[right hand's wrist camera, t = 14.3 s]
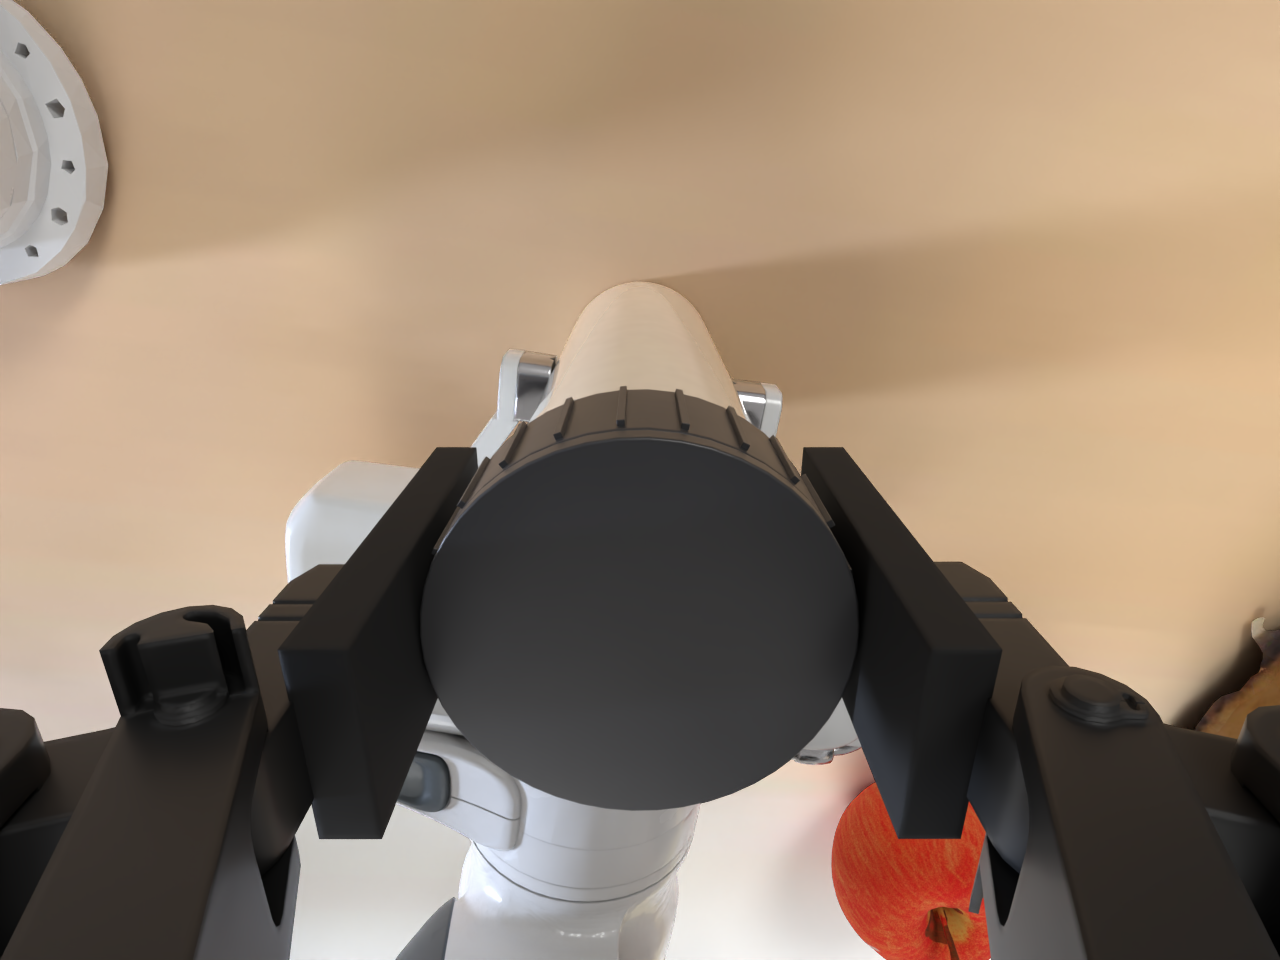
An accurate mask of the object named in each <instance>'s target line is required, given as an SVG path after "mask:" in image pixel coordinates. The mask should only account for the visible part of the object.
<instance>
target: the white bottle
mask: <svg viewBox="0 0 1280 960" xmlns="http://www.w3.org/2000/svg"><path fill="white" fill-rule="evenodd" d="M620 386H627V390H636V389H650V390H660V391H670V392H675V391H676V389H681V390H683V394H685V395H689V396H693V397H697V398H700V399H703V400H706V401H708V402H711V403H714V404H716V405H719V406H722V407H724V408H726V409H727V407H728V406H731V407H733V408H734V409H735V411H736V413H737V415H739V416H740V417H742V418H744V419H746V420H747V421H748V422H750V423H751V424H752V422H751V419H750V417H749V415H748V413H747V411H746V409H745V407H744V405H743V403H742V401H741V399H740V397H739V394H738V392H737V390H736V388H735V386H734V384H733V382H732V380H731V378H730V376H729V374H728V371H727V369H726V367H725V365H724V363H723V361H722V359H721V357H720V355H719V353H718V351H717V349H716V346H715V344H714V342H713V340H712V338H711V336H710V334H709V332H708V330H707V328H706V326H705V323H704V321H703V320H702V318H701V316H700V314H699V313H698V311H697V310H696V309H695V307H694V306H693V305H692V304H691V303H690V302H689V301H688V300H687V299H686V298H685V297H683V296H682V295H681V294H679V293H678V292H676V291H674V290H672V289H671V288H668V287H666V286H663V285H660V284H656V283H651V282H630V283H624V284H620V285H617V286H614V287H612V288H610V289H608V290H606V291H604V292H603V293H601V294H599V295H598V296H597V297H596V298H594V299H593V300H592V301H591V302H590V303H589V304H588V305H587V306H586V307H585V309H584V310H583V312H582V313H581V315H580V316H579V318H578V320H577V322H576V324H575V326H574V328H573V330H572V332H571V334H570V336H569V338H568V340H567V343H566V345H565V347H564V349H563V351H562V353H561V355H560V357H559V359H558V361H557V363H556V365H555V367H554V369H553V372H552V374H551V376H550V378H549V380H548V382H547V384H546V386H545V388H544V390H543V392H542V394H541V396H540V398H539V401H538V403H537V405H536V407H535V409H534V411H533V413H532V415H531V417H530V419H529V421H528V423H529V422H531V421H533V420H534V419H536V418H538V417H539V416H541V415H542V414H544V413H546V412H547V411H549V410H552V409H554V408H556V407H559V406H561V405H563V404H564V403H565V400H566V399H567V398H570V397H572V398H573V400H576V399H580V398H583V397H587V396H590V395H594V394H598V393H604V392H611V391H617V390H620ZM528 423H527V424H528Z"/></svg>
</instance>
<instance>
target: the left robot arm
mask: <svg viewBox="0 0 1280 960" xmlns="http://www.w3.org/2000/svg"><path fill="white" fill-rule="evenodd" d="M556 363H557V355H550V354H543V353H537V352H530V351H525V350H517V349H508V351H507V352H506V353H505V354H504V356H503V359H502V363H501V369H500V377H499V392H498V407H497V411H496V412H495V414H494V415H493V416H492V418H491V419H490V420H489V422H488V423H487V425H486V426H485V427H484V429H483V430H482V432H481V433H480V434H479V436H478V437H477V439H476V440H475V441H474V443H473V444H472V446H471V447H476V448H477V459H478V468H479V466H480V464H481V463H482V461H483V460H484V458H485V457H488V458H489V459H491V457H492V456H493V455H494V454H495V453H496V452H497V451H498V450H499V448H500V447H501V445H502V444H503V443H504V441H505V440H506V439H507V437H508V436H509V434H510V433H511V432H512V430H513V429H514V427H515V426H516V425H517V423H518V422H519V421H524V422H528V421H529V419H530V417H531V415H532V413H533V411H534V409H535V407H536V405H537V403H538V401H539V398H540V396H541V394H542V392H543V390H544V388H545V386H546V384H547V382H548V380H549V378H550V376H551V374H552V372H553V369H554V367H555V365H556ZM731 380H732V382H733V384H734V386H735V388H736V390H737V392H738V394H739V397H740V399H741V401H742V403H743V405H744V407H745V409H746V411H747V413H748V415H749V417H750V419H751V422H752V424H753V425H754V426H755V427H757V428H758V429H759V430H761V431H762V432H764V433H765V434H766V435H767V436H768V437H769V438H770V437H771V436H772V435H774V436H775V437H776V433H777V429H778V424H779V419H780V415H781V410H782V393H781V391H780V390H779V388H778V387H777V386H776V384H768V383H761V382H754V381H745V380H737V379H731ZM419 469H420V468H412V467H405V466H397V465H389V464H381V463H373V462H366V461H356V460H352V461H346V462H344V463H342V464H340V465H338V466H337V467H336V468H334V469H333V470H332V471H331V472H329V473H328V474H327V475H326V476H324V477H323V478H322V479H320V480H319V481H318V482H317V483H316V484H315V485H313V486H312V487H311V488H310V489H309V490H308V491H307V493H306V494H305V495H304V496H303V497H302V498H301V499H300V500H299V501H298V503H297V504H296V505H295V507H294V508H293V510H292V511H291V513H290V515H289V518H288V521H287V524H286V532H285V551H286V566H287V577H288V583H289V582H290V581H291V580H293V579H295V578H296V577H298V576H300V575H301V574H303V573H305V572H306V571H308V570H310V569H312V568H313V567H315V566H317V565H318V564H345V563H346V562H347V561H348V559H349V558H350V557H351V556H352V554H353V553H354V552H355V551H356V549H357V548H358V547H359V546H360V544H361V543H362V542H363V540H364V539H365V538H366V537H367V535H368V534H369V533H370V532H371V530H372V529H373V528H374V526H375V525H376V524H377V523H378V521H379V520H380V519H381V518H382V516H383V515H384V514H385V513H386V511H387V510H388V509H389V507H390V506H391V505H392V504H393V502H394V501H395V500H396V499H397V497H398V496H399V495H400V494H401V492H402V491H403V490H404V488H405V487H406V486H407V485H408V483H409V482H410V481H411V480H412V478H413V477H414V476H415V474H416V473H417V472H418V471H419ZM860 748H862V747H861V744H860V742H859V739H858V737H857V734H856V732H855V729H854V727H853V724H852V722H851V719H850V717H849V714H848V711H847V709H846V706H845V704H844V701H843V699H842V698H841V700H840V702H839V703H838V705H837V707H836V708H835V710H834V712H833V713H832V715H831V717H830V718H829V720H828V721H827V722H826V724H825V725H824V726H823V727H822V729H821V730H820V731H819V732H818V734H817V735H816V736H815V737H814V739H813V740H812V741H811V742H809V743H808V744H807V745H806V746H805V747H804V748H803V749H802V750H801V751H800V752H799V753H798V754H797V755H796V756H795V757H793V758H792V759H791V760H794V761H795V762H798V763H802V764H810V765H823V764H828V763H831V762H832V760H833V757H834V756H836V755H844V754H848V753H851V752H854V751H856V750H858V749H860ZM396 804H397V805H399V806H402V807H405V808H407V809H410V810H412V811H415V812H417V813H419V814H421V815H424V816H426V817H428V818H431V819H433V820H435V821H437V822H439V823H441V824H443V825H445V826H447V827H449V828H451V829H453V830H455V831H457V832H458V833H460V834H462V835H464V836H466V837H467V838H469V839H470V840H471V846H470V848H469V850H468V853H467V855H466V858H465V861H464V864H463V868H462V874H461V879H460V886H459V895H458V899H455V898H454V897H453V898H452V899H450V900H449V901H448V902H446V903H445V904H444V905H443V906H441V907H440V908H439V909H438V910H437V911H436V912H435V913H434V914H433V915H432V916H431V917H430V918H429V920H428V921H427V922H426V923H425V924H424V925H423V927H422V928H421V929H420V930H419V931H418V932H417V934H416V935H415V936H414V937H413V938H412V940H411V941H410V942H409V943H408V944H407V946H406V947H405V948H404V949H403V950H402V952H401V953H400V954H399V955H398V957H397V958H396V960H665V957H666V953H667V949H668V946H669V942H670V938H671V934H672V930H673V926H674V921H675V917H676V911H677V903H678V879H677V871H678V870H679V868H680V867H681V865H682V863H683V861H684V860H685V858H686V855H687V853H688V851H689V848H690V845H691V842H692V839H693V835H694V830H695V826H696V822H697V817H698V813H699V808H700V804H696V805H691V806H687V807H682V808H673V809H665V810H651V811H627V810H615V809H604V808H599V807H594V806H588V805H583V804H579V803H575V802H572V801H568V800H565V799H561V798H558V797H555V796H553V795H550V794H548V793H545V792H543V791H540V790H538V789H535V788H533V787H531V786H529V785H527V784H525V783H524V782H522V781H520V780H518V779H516V778H514V777H513V776H511V775H509V774H508V773H506V772H505V771H504V770H502V769H501V768H499V767H498V766H496V765H495V764H493V763H492V762H491V761H489V760H488V759H487V758H486V757H485V756H484V755H483V754H481V753H480V752H479V751H478V750H477V749H476V748H475V747H474V746H472V745H471V743H470V742H469V741H468V740H467V739H466V738H465V737H464V735H463V734H462V733H461V732H460V731H459V730H458V729H457V728H456V726H455V725H454V723H453V722H452V720H451V719H450V717H449V716H448V714H447V713H446V711H445V710H444V708H443V707H442V705H441V703H440V701H439V699H437V701H436V704H435V706H434V709H433V711H432V714H431V716H430V719H429V722H428V724H427V727H426V729H425V732H424V734H423V737H422V739H421V742H420V744H419V747H418V749H417V752H416V754H415V757H414V759H413V762H412V764H411V767H410V769H409V772H408V774H407V777H406V779H405V782H404V784H403V787H402V789H401V792H400V794H399V797H398V799H397V802H396Z"/></svg>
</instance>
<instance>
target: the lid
mask: <svg viewBox="0 0 1280 960" xmlns="http://www.w3.org/2000/svg"><path fill="white" fill-rule="evenodd" d="M833 526H835V524H834V522H833V520H832V519H831V517H830V515H829V514H828V512H827V510H826V508H825V507H824V505H823V503H822V501H821V500H820V498H819V496H818V495H817V493H816V491H815V489H814V488H813V486H812V484H811V483H810V481H809V479H808V477H807V476H806V474H803V475H801V476H800V474H799V473H798V471H797V469H796V468H795V466H794V465H793V464H792V462H791V461H790V460H789V459H788V457H787V455H786V454H785V452H784V450H783V448H782V446H781V445H780V443H779V441H778V439H777V438H776V437H775V436H774V435H772V436H771V437H770V438H769V437H768V436H767V435H766V434H765V433H764V432H762V431H761V430H759V429H758V428H757V427H755V426H754V425H753V424H751V423H750V422H748V421H747V420H746V419H744V418H742V417H740V416H739V415H737V413H736V411H735V409H734V408H733V407H731V406H728V407H727V409H726V408H724V407H722V406H719V405H716V404H714V403H711V402H708V401H706V400H703V399H700V398H697V397H693V396H689V395H685V394H683V390H681V389H676V391H675V392H670V391H660V390H650V389H636V390H627V386H620V390H617V391H611V392H604V393H598V394H594V395H590V396H587V397H583V398H580V399H576V400H573V398H572V397H570V398H567V399H566V400H565V403H564V404H563V405H561V406H559V407H556V408H554V409H552V410H549V411H547V412H546V413H544V414H542V415H541V416H539V417H538V418H536V419H534V420H533V421H531V422H529V423H528V424H526V423H525V422H524V421H523V422H522V423H520V424H519V425H518V427H517V429H516V431H515V433H514V435H513V436H511V437H510V438H509V439H508V440H507V441H506V442H505V443H504V444H503V445H502V446H501V447H500V448H499V450H498V451H497V452H496V453H495V454H494V455H493V456H492V457H491V459H489V458H488V457H485V458H484V460H483V461H482V463H481V464H480V466H479V468H478V470H477V471H476V473H475V475H474V476H473V478H472V480H471V482H470V483H469V485H468V487H467V489H466V490H465V492H464V494H463V495H462V497H461V499H460V501H459V502H458V504H457V508H456V510H455V512H454V513H453V515H452V517H451V519H450V520H449V522H448V524H447V525H446V527H445V529H444V531H443V532H442V534H441V536H440V538H439V539H438V541H437V543H436V545H435V546H434V548H433V551H432V554H433V555H435V556H434V558H433V560H432V562H431V565H430V568H429V572H428V575H427V578H426V581H425V584H424V588H423V594H422V601H421V608H420V639H421V645H422V652H423V658H424V663H425V666H426V669H427V672H428V675H429V678H430V681H431V684H432V687H433V689H434V691H435V693H436V695H437V697H438V699H439V701H440V703H441V705H442V707H443V708H444V710H445V711H446V713H447V714H448V716H449V717H450V719H451V720H452V722H453V723H454V725H455V726H456V728H457V729H458V730H459V731H460V732H461V733H462V734H463V735H464V737H465V738H466V739H467V740H468V741H469V742H470V743H471V745H472V746H474V747H475V748H476V749H477V750H478V751H479V752H480V753H481V754H483V755H484V756H485V757H486V758H487V759H488V760H489V761H491V762H492V763H493V764H495V765H496V766H498V767H499V768H501V769H502V770H504V771H505V772H506V773H508V774H509V775H511V776H513V777H514V778H516V779H518V780H520V781H522V782H524V783H525V784H527V785H529V786H531V787H533V788H535V789H538V790H540V791H543V792H545V793H548V794H550V795H553V796H555V797H558V798H561V799H565V800H568V801H572V802H575V803H579V804H583V805H588V806H594V807H599V808H604V809H615V810H627V811H651V810H665V809H673V808H682V807H687V806H691V805H696V804H700V803H705V802H709V801H712V800H715V799H718V798H721V797H724V796H727V795H730V794H733V793H735V792H737V791H739V790H741V789H744V788H746V787H748V786H750V785H752V784H755V783H756V782H758V781H760V780H761V779H763V778H765V777H766V776H768V775H770V774H771V773H773V772H775V771H776V770H778V769H779V768H780V767H782V766H783V765H784V764H786V763H787V762H788V761H790V760H791V759H792V758H793V757H795V756H796V755H797V754H798V753H799V752H800V751H801V750H802V749H803V748H804V747H805V746H806V745H807V744H808V743H809V742H811V741H812V740H813V739H814V737H815V736H816V735H817V734H818V732H819V731H820V730H821V729H822V727H823V726H824V725H825V724H826V722H827V721H828V720H829V718H830V717H831V715H832V713H833V712H834V710H835V708H836V707H837V705H838V703H839V702H840V700H841V698H842V696H843V694H844V691H845V689H846V686H847V684H848V682H849V679H850V677H851V674H852V670H853V666H854V662H855V658H856V654H857V648H858V639H859V629H860V624H859V605H858V599H857V594H856V589H855V584H854V580H853V571H852V568H851V567H850V565H849V563H848V561H847V559H846V558H845V555H844V553H843V551H842V549H841V548H840V546H839V544H838V542H837V540H836V539H835V537H834V535H833V533H832V531H831V530H830V528H831V527H833Z"/></svg>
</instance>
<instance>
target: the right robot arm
mask: <svg viewBox="0 0 1280 960" xmlns="http://www.w3.org/2000/svg"><path fill="white" fill-rule="evenodd" d="M477 470H478V459H477V448H476V447H437V448H436V449H435V450H434V452H433V453H432V454H431V455H430V457H429V458H428V459H427V461H426V462H425V463H424V464H423V466H422V467H421V468H420V469H419V471H418V472H417V473H416V474H415V476H414V477H413V478H412V480H411V481H410V482H409V483H408V485H407V486H406V487H405V488H404V490H403V491H402V492H401V494H400V495H399V496H398V497H397V499H396V500H395V501H394V502H393V504H392V505H391V506H390V507H389V509H388V510H387V511H386V513H385V514H384V515H383V516H382V518H381V519H380V520H379V521H378V523H377V524H376V525H375V526H374V528H373V529H372V530H371V532H370V533H369V534H368V535H367V537H366V538H365V539H364V540H363V542H362V543H361V544H360V546H359V547H358V548H357V549H356V551H355V552H354V553H353V554H352V556H351V557H350V558H349V559H348V561H347V562H346V563H345V564H318V565H317V566H315V567H313V568H312V569H310V570H308V571H306V572H305V573H303V574H301V575H300V576H298V577H296V578H295V579H293V580H291V581H290V582H289V583H288V584H287V585H286V587H285V588H284V589H283V590H282V591H281V592H280V593H279V594H278V596H277V597H276V598H275V599H274V600H273V604H269V606H268V607H267V608H266V609H265V610H264V611H263V612H262V613H261V615H260V616H259V619H258V621H254V622H253V623H252V625H251V626H250V627H249V628H248V629H247V630H246V628H245V624H244V620H243V616H242V615H240V614H239V613H238V612H236V611H235V610H233V609H232V608H227V607H221V606H215V605H206V606H189V607H184V608H180V609H176V610H171V611H167V612H162V613H159V614H157V615H154V616H152V617H149V618H147V619H144V620H141V621H139V622H136V623H134V624H133V625H131V626H129V627H128V628H126V629H124V630H123V631H121V632H119V633H118V634H116V635H114V636H113V637H112V638H111V639H110V640H109V641H108V642H107V643H106V644H105V645H104V646H103V647H102V648H101V649H100V650H99V651H100V654H101V657H102V660H103V663H104V666H105V669H106V672H107V676H108V679H109V682H110V685H111V688H112V691H113V694H114V697H115V700H116V703H117V706H118V709H119V712H120V715H121V717H120V719H119V721H118V723H117V725H116V727H114V728H110V729H106V730H101V731H96V732H91V733H86V734H81V735H76V736H71V737H66V738H62V739H57V740H52V741H47V742H43V740H42V737H41V734H40V732H39V729H38V727H37V724H36V721H35V719H34V718H33V717H32V716H30V715H29V714H27V713H26V712H24V711H23V710H15V709H3V708H0V960H289V957H290V949H291V940H292V932H293V924H294V916H295V907H296V899H297V891H298V883H299V874H300V866H301V864H300V858H299V851H298V847H297V842H296V838H295V834H296V832H297V830H298V828H299V826H300V824H301V822H302V820H303V819H304V817H305V815H306V813H307V811H308V809H309V807H310V806H311V804H312V808H313V813H314V817H315V822H316V826H317V831H318V835H319V839H382V837H383V835H384V832H385V830H386V827H387V825H388V822H389V820H390V817H391V815H392V812H393V810H394V807H395V804H396V802H397V799H398V797H399V794H400V792H401V789H402V787H403V784H404V782H405V779H406V777H407V774H408V772H409V769H410V767H411V764H412V762H413V759H414V757H415V754H416V752H417V749H418V747H419V744H420V742H421V739H422V737H423V734H424V732H425V729H426V727H427V724H428V722H429V719H430V716H431V714H432V711H433V709H434V706H435V704H436V701H437V699H438V697H437V695H436V693H435V691H434V689H433V687H432V684H431V681H430V678H429V675H428V672H427V669H426V666H425V663H424V658H423V652H422V645H421V639H420V608H421V601H422V594H423V588H424V584H425V581H426V578H427V575H428V572H429V568H430V565H431V562H432V560H433V558H434V556H435V555H433V554H432V551H433V548H434V546H435V545H436V543H437V541H438V539H439V538H440V536H441V534H442V532H443V531H444V529H445V527H446V525H447V524H448V522H449V520H450V519H451V517H452V515H453V513H454V512H455V510H456V508H457V504H458V502H459V501H460V499H461V497H462V495H463V494H464V492H465V490H466V489H467V487H468V485H469V483H470V482H471V480H472V478H473V476H474V475H475V473H476V471H477ZM803 474H806V476H807V477H808V479H809V481H810V483H811V484H812V486H813V488H814V489H815V491H816V493H817V495H818V496H819V498H820V500H821V501H822V503H823V505H824V507H825V508H826V510H827V512H828V514H829V515H830V517H831V519H832V520H833V522H834V524H835V526H833V527H831V528H830V530H831V531H832V533H833V535H834V537H835V539H836V540H837V542H838V544H839V546H840V548H841V549H842V551H843V553H844V555H845V558H846V559H847V561H848V563H849V565H850V567H851V568H852V571H853V580H854V584H855V589H856V594H857V599H858V605H859V624H860V629H859V639H858V648H857V654H856V658H855V662H854V666H853V670H852V674H851V677H850V679H849V682H848V684H847V686H846V689H845V691H844V694H843V696H842V699H843V701H844V704H845V706H846V709H847V711H848V714H849V717H850V719H851V722H852V724H853V727H854V729H855V732H856V734H857V737H858V739H859V742H860V744H861V747H862V749H863V752H864V754H865V757H866V759H867V762H868V764H869V767H870V769H871V772H872V774H873V777H874V779H875V782H876V784H877V787H878V789H879V792H880V794H881V797H882V799H883V802H884V805H885V807H886V810H887V812H888V815H889V817H890V820H891V822H892V825H893V827H894V830H895V832H896V835H897V837H898V839H961V835H962V831H963V826H964V822H965V817H966V813H967V808H968V804H969V802H970V804H971V806H972V807H973V809H974V811H975V813H976V815H977V817H978V819H979V820H980V822H981V824H982V826H983V828H984V830H985V832H986V834H985V838H984V842H983V847H982V851H981V855H980V859H979V863H978V868H977V872H976V876H975V880H974V884H973V889H972V893H971V898H970V904H969V910H968V912H972V913H976V914H979V910H980V906H981V902H982V898H984V905H985V914H986V922H987V930H988V938H989V947H990V955H991V960H1280V705H1274V706H1262V707H1258V708H1256V709H1255V710H1253V711H1252V712H1250V713H1249V714H1247V716H1246V719H1245V721H1244V724H1243V727H1242V729H1241V732H1240V734H1239V737H1238V739H1235V738H1230V737H1225V736H1220V735H1215V734H1210V733H1205V732H1200V731H1195V730H1190V729H1185V728H1180V727H1175V726H1171V725H1167V724H1163V722H1162V720H1161V718H1160V716H1159V715H1158V713H1157V712H1156V711H1155V710H1154V708H1153V707H1152V706H1151V705H1150V703H1149V702H1148V701H1147V700H1146V699H1145V698H1143V697H1142V696H1141V695H1139V694H1138V693H1136V692H1135V691H1134V690H1132V689H1131V688H1129V687H1128V686H1126V685H1125V684H1122V683H1120V682H1118V681H1116V680H1113V679H1111V678H1109V677H1107V676H1105V675H1102V674H1100V673H1096V672H1092V671H1088V670H1084V669H1081V668H1077V667H1069V666H1068V665H1067V663H1066V662H1065V661H1064V660H1063V659H1062V658H1061V657H1060V656H1059V655H1058V653H1057V652H1056V651H1055V650H1054V649H1053V648H1052V647H1051V646H1050V645H1049V643H1048V642H1047V641H1046V640H1045V639H1044V638H1043V637H1042V636H1041V635H1040V633H1039V632H1038V631H1037V630H1036V629H1035V628H1034V627H1033V626H1032V625H1031V624H1030V622H1029V621H1028V620H1027V619H1026V618H1022V614H1021V612H1020V611H1019V610H1018V609H1017V608H1016V607H1015V606H1014V605H1013V604H1012V602H1008V600H1007V597H1006V596H1005V595H1004V594H1003V592H1002V591H1001V590H1000V589H999V588H998V587H997V586H996V585H995V584H994V582H993V581H992V580H991V579H990V578H988V577H987V576H985V575H983V574H981V573H980V572H978V571H976V570H975V569H973V568H971V567H970V566H968V565H966V564H964V563H963V562H933V561H932V559H931V558H930V557H929V556H928V554H927V553H926V552H925V551H924V549H923V548H922V547H921V546H920V544H919V543H918V542H917V540H916V539H915V538H914V537H913V535H912V534H911V533H910V532H909V530H908V529H907V528H906V526H905V525H904V524H903V523H902V521H901V520H900V519H899V518H898V516H897V515H896V514H895V513H894V511H893V510H892V509H891V507H890V506H889V505H888V504H887V502H886V501H885V500H884V499H883V497H882V496H881V495H880V494H879V492H878V491H877V490H876V488H875V487H874V486H873V485H872V483H871V482H870V481H869V480H868V478H867V477H866V476H865V474H864V473H863V472H862V471H861V469H860V468H859V467H858V466H857V464H856V463H855V462H854V461H853V459H852V458H851V457H850V455H849V454H848V453H847V452H846V450H845V449H844V448H843V447H804V448H803V459H802V470H801V475H803Z"/></svg>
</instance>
